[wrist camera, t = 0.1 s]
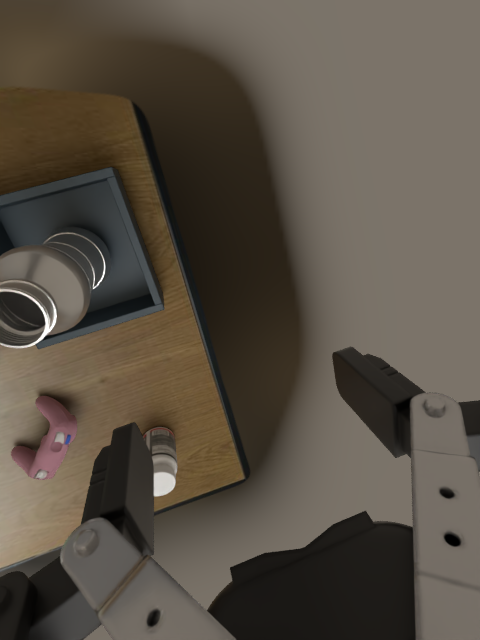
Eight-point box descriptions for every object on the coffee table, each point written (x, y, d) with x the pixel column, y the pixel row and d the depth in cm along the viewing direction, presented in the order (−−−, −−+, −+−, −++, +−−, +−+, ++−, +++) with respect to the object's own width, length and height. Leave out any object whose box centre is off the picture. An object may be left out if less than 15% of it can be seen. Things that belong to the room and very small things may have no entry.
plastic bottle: (79, 294, 38) (13, 390, 20) (34, 245, 36) (-89, 305, 17) (126, 263, 38) (100, 332, 20) (85, 211, 35) (13, 237, 17)
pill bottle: (156, 457, 50) (156, 505, 42) (134, 439, 48) (131, 486, 40) (181, 438, 50) (186, 483, 42) (161, 420, 48) (162, 463, 40)
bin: (-16, 203, 34) (-45, 206, 29) (117, 169, 35) (111, 166, 30) (52, 329, 40) (38, 349, 35) (163, 294, 41) (164, 309, 36)
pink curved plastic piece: (45, 448, 47) (57, 489, 42) (7, 451, 43) (16, 496, 39) (73, 392, 45) (88, 430, 40) (36, 391, 41) (48, 432, 37)
